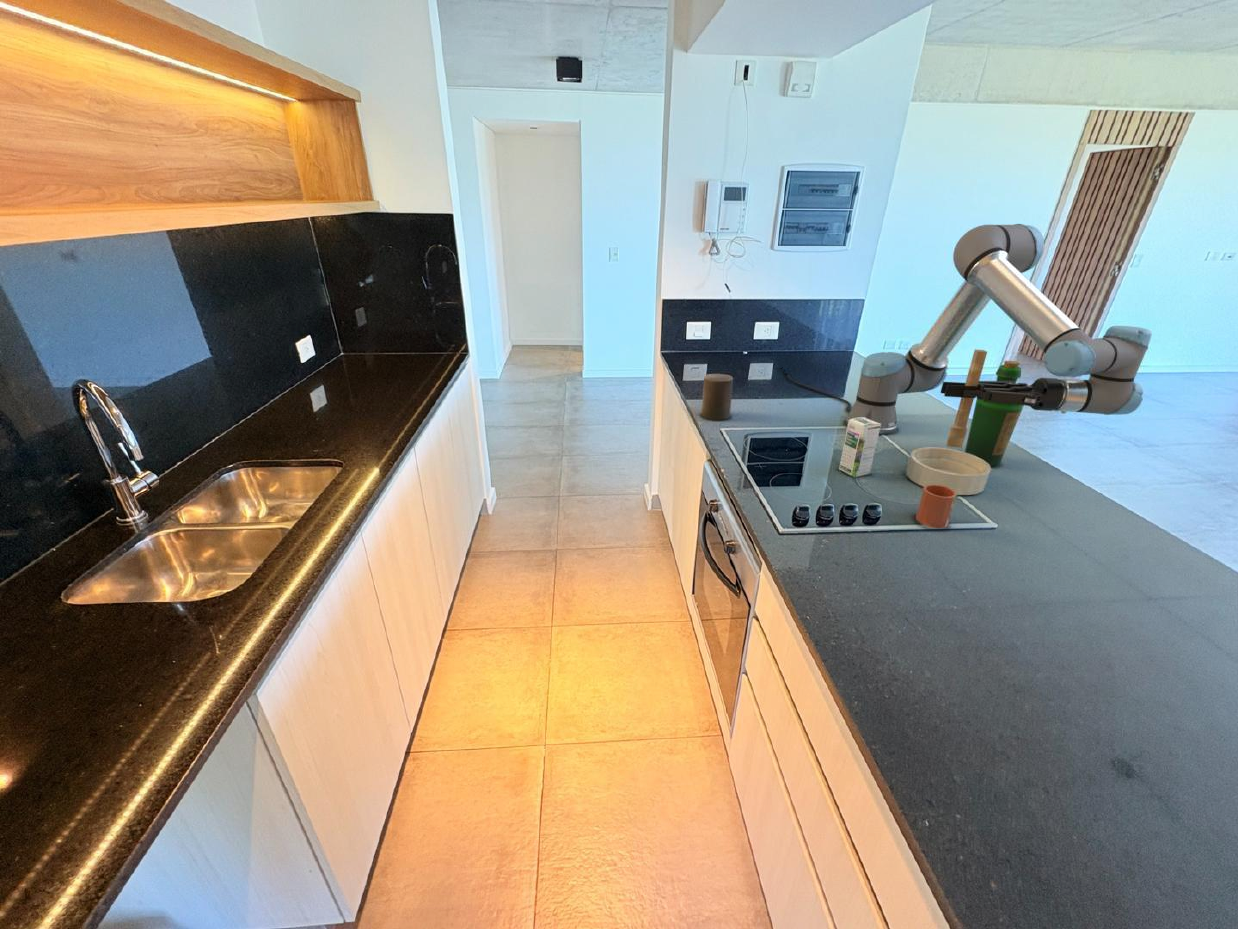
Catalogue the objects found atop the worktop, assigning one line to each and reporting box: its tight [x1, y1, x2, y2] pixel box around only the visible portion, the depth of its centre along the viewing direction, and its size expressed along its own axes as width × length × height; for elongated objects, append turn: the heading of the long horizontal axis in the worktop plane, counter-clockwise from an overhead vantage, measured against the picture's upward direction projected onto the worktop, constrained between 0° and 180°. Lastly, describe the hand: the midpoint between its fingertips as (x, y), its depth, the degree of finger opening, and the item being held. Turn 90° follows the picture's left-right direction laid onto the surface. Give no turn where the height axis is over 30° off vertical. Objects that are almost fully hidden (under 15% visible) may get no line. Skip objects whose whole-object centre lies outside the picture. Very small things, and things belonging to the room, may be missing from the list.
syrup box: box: [838, 417, 881, 478], centre depth 138 cm, size 6×6×14 cm
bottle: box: [964, 360, 1025, 467], centre depth 142 cm, size 11×11×28 cm
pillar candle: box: [700, 373, 734, 422], centre depth 179 cm, size 10×10×15 cm
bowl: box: [905, 446, 992, 496], centre depth 135 cm, size 18×18×6 cm
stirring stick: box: [945, 349, 988, 448], centre depth 127 cm, size 3×2×24 cm, turn 78°
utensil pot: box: [915, 484, 958, 529], centre depth 116 cm, size 6×6×8 cm
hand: (944, 389), depth 127 cm, fingers closed on stirring stick, 2 cm apart
